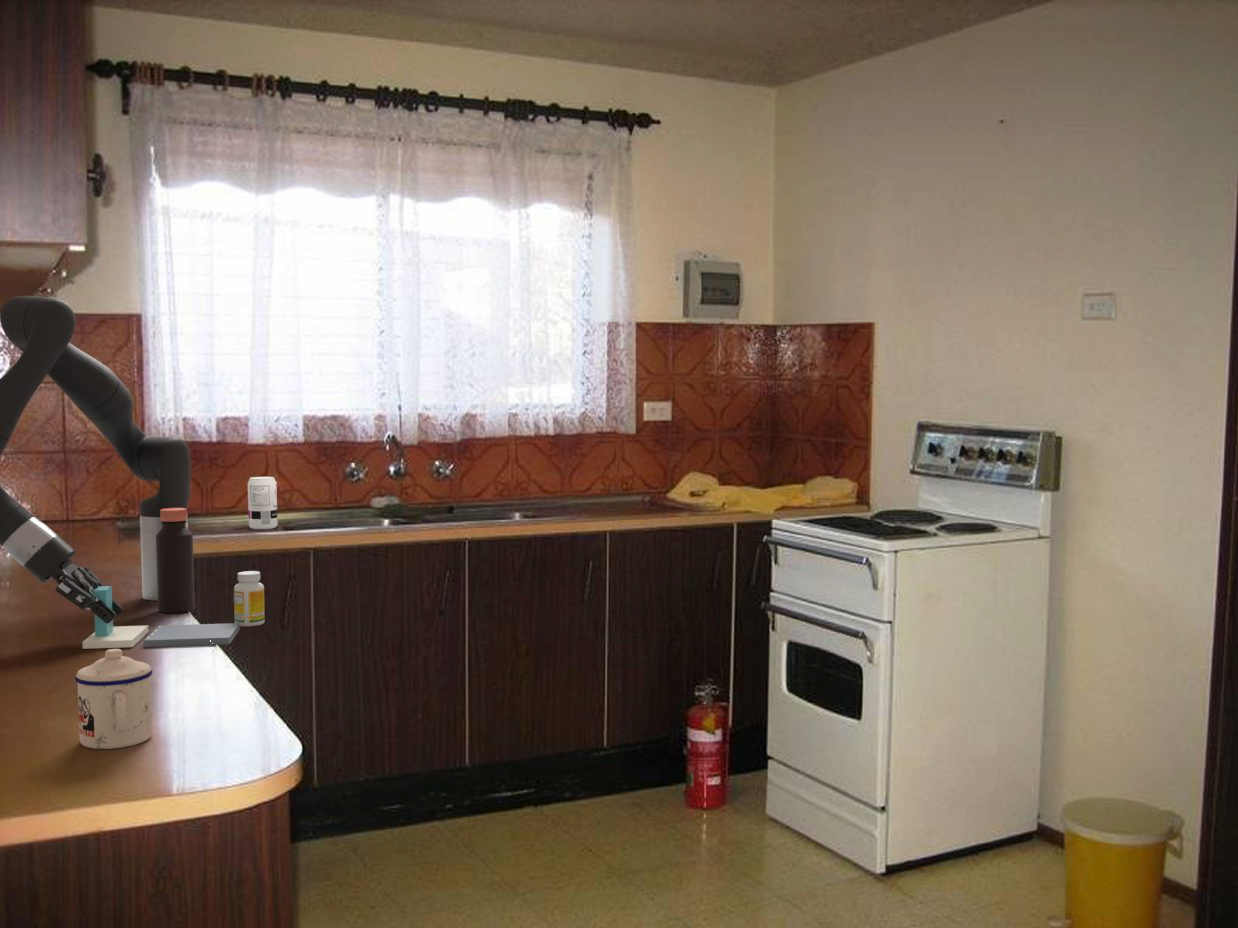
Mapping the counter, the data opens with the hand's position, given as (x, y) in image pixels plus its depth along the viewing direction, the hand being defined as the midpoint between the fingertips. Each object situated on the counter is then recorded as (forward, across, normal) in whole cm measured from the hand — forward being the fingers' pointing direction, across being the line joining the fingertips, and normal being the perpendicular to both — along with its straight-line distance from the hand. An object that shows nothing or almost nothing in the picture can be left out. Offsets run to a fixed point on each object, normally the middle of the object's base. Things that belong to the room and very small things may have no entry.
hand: (115, 616), depth 213 cm
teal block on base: (+3, 0, +3) cm, 4 cm away
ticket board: (+12, 0, -6) cm, 14 cm away
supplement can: (+7, +151, -1) cm, 151 cm away
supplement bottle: (+18, +11, -12) cm, 24 cm away
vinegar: (+7, +26, 0) cm, 27 cm away
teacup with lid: (+14, -61, -7) cm, 63 cm away
